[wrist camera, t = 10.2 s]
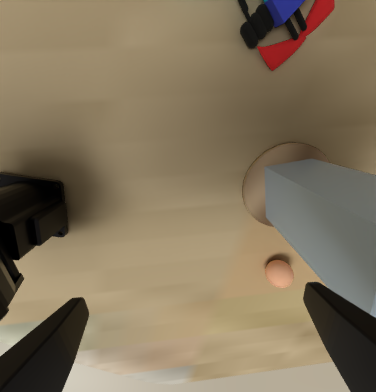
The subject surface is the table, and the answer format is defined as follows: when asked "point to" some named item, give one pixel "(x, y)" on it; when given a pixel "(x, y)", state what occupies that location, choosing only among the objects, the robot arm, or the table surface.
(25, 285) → the table surface
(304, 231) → the pale blue box
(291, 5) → the toy figure
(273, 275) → the ball
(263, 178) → the coaster
